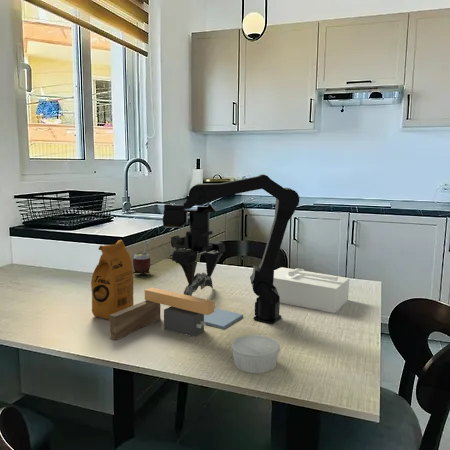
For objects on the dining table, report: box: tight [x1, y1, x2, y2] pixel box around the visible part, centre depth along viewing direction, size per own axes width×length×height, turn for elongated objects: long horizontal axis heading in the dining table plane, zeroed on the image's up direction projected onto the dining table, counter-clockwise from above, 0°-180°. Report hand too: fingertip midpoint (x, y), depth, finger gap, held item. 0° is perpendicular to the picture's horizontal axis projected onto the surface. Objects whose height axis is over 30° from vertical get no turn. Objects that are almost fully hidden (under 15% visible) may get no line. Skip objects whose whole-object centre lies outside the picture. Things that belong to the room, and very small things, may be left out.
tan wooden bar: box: [144, 286, 215, 315], centre depth 119 cm, size 22×3×3 cm, turn 58°
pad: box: [204, 307, 244, 330], centre depth 128 cm, size 14×11×1 cm
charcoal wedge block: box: [163, 306, 206, 337], centre depth 119 cm, size 11×5×6 cm, turn 61°
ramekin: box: [230, 334, 281, 374], centre depth 100 cm, size 11×11×5 cm
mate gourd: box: [132, 239, 152, 276], centre depth 176 cm, size 8×8×15 cm
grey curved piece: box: [183, 272, 214, 296], centre depth 144 cm, size 28×2×10 cm, turn 163°
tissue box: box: [273, 266, 350, 314], centre depth 145 cm, size 14×25×11 cm, turn 58°
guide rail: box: [109, 300, 161, 341], centre depth 120 cm, size 2×18×6 cm, turn 148°
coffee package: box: [90, 239, 134, 321], centre depth 130 cm, size 10×12×22 cm
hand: (199, 279), depth 126 cm, fingers open, 9 cm apart
